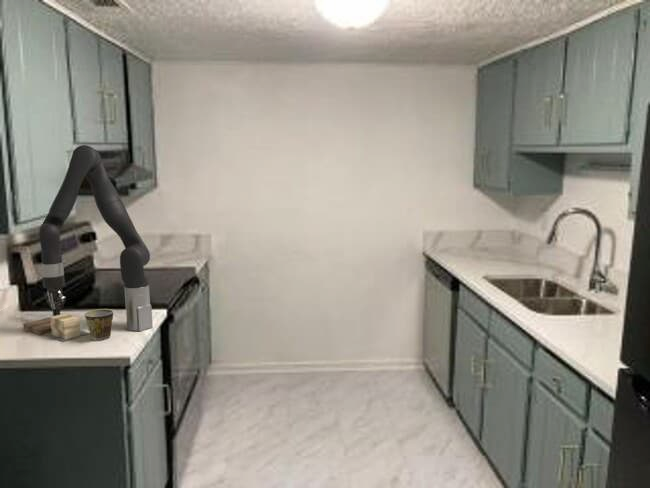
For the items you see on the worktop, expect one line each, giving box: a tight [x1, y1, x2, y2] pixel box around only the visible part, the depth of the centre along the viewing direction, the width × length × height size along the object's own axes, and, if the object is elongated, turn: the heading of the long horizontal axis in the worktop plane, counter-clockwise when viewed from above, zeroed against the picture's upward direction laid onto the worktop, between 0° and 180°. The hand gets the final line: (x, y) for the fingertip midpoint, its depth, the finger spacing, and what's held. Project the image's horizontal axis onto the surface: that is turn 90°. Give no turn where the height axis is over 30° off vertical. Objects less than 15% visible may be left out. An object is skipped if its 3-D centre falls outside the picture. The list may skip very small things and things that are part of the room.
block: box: [50, 312, 81, 339], centre depth 211 cm, size 10×6×7 cm, turn 53°
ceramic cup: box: [84, 308, 114, 342], centre depth 207 cm, size 13×10×10 cm
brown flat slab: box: [22, 316, 52, 336], centre depth 221 cm, size 14×12×2 cm
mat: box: [43, 329, 90, 342], centre depth 214 cm, size 14×11×1 cm
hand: (56, 317), depth 215 cm, fingers closed
